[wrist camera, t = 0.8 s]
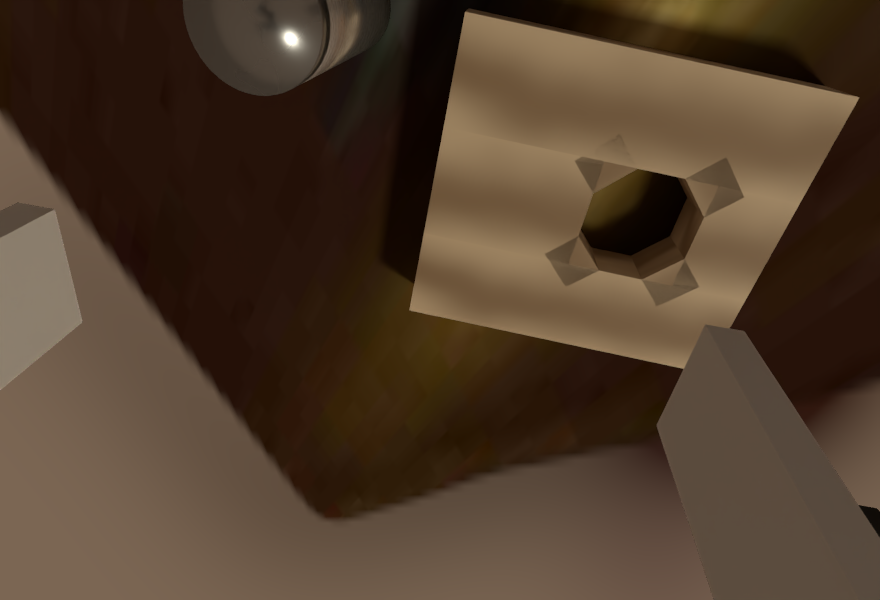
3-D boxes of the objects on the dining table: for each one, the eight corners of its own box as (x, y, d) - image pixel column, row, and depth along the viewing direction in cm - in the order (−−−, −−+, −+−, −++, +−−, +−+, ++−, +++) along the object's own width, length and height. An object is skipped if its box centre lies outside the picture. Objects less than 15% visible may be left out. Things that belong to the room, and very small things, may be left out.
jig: (468, 8, 27) (465, 11, 24) (825, 86, 27) (859, 97, 24) (416, 285, 35) (409, 310, 33) (690, 344, 35) (704, 373, 33)
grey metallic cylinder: (306, -56, 26) (178, -79, 16) (396, -37, 26) (326, -46, 16) (301, 43, 28) (186, 80, 18) (384, 61, 28) (316, 108, 18)
